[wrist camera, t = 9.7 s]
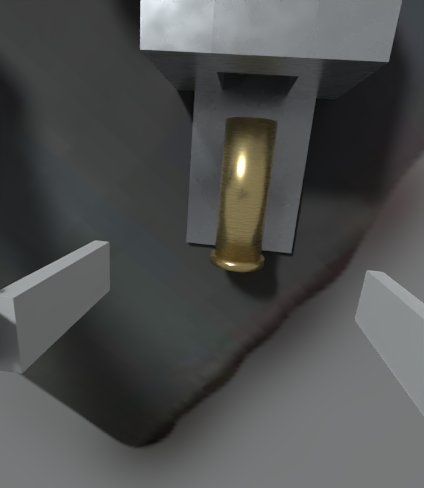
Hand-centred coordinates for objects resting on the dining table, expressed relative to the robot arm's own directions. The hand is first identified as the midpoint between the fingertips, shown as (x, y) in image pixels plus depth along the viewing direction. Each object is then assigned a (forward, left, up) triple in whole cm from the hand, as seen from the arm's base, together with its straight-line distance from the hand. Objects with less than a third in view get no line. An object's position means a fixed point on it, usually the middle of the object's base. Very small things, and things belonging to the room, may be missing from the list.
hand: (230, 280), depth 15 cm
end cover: (0, +3, -18) cm, 18 cm away
